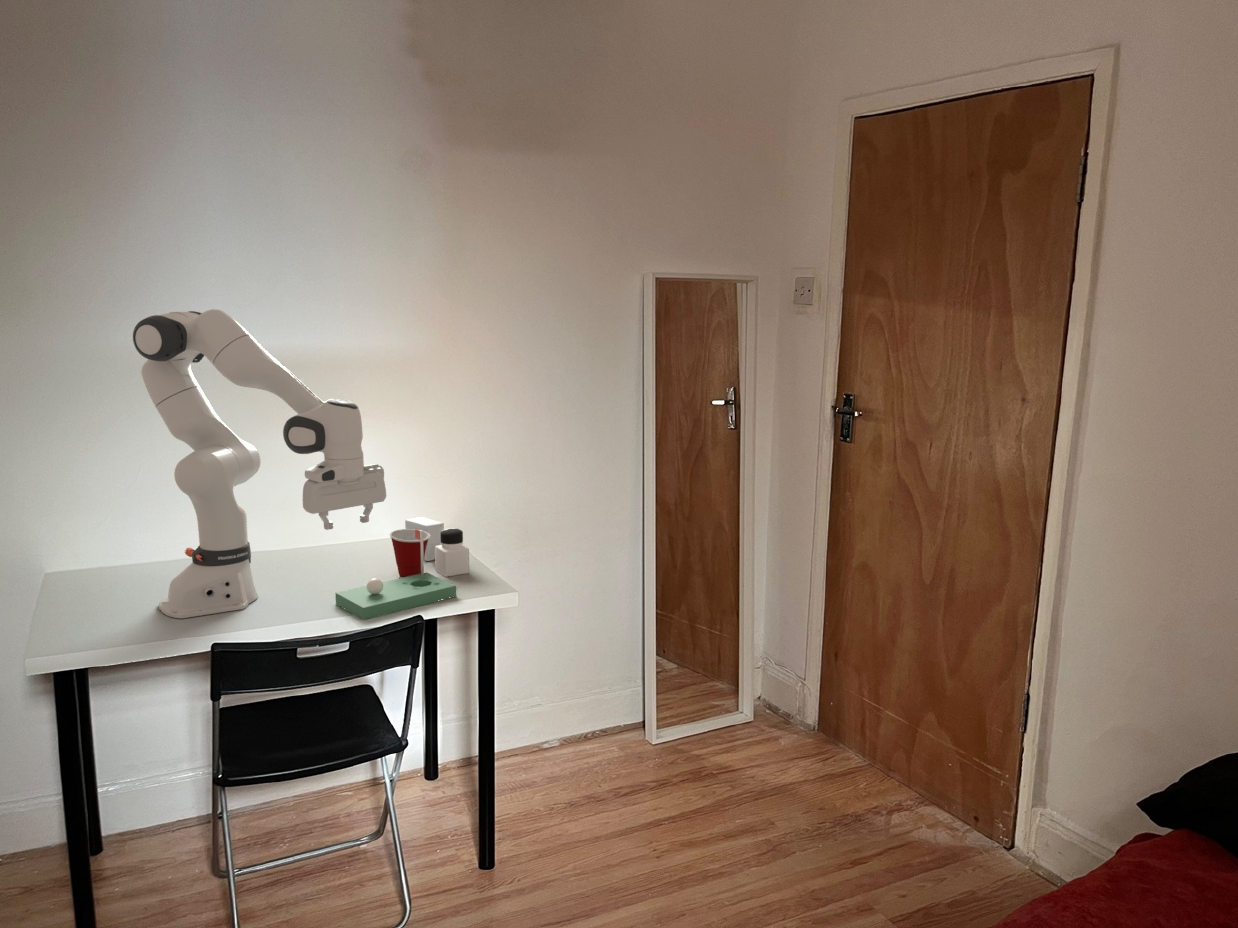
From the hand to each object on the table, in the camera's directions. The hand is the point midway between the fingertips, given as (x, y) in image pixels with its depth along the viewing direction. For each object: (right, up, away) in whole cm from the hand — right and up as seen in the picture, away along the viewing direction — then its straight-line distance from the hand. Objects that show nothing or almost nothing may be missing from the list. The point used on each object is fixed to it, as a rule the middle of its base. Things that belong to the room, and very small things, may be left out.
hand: (346, 525), depth 230 cm
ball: (+5, -16, +8) cm, 18 cm away
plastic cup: (+8, -16, +33) cm, 37 cm away
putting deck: (+9, -20, +13) cm, 25 cm away
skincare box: (+8, -12, +51) cm, 54 cm away
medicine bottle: (+19, -15, +37) cm, 44 cm away
